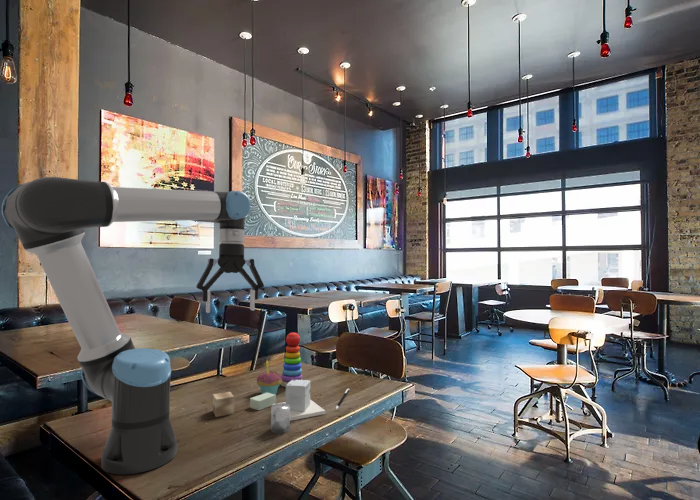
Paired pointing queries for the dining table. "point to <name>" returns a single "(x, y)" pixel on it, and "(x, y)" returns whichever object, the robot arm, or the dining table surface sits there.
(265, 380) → the cupcake
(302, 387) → the skincare box
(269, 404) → the sage block
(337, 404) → the pen
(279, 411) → the steel cylinder
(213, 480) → the dining table surface
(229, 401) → the oak cube
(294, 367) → the stacking toy
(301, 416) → the cream pad
